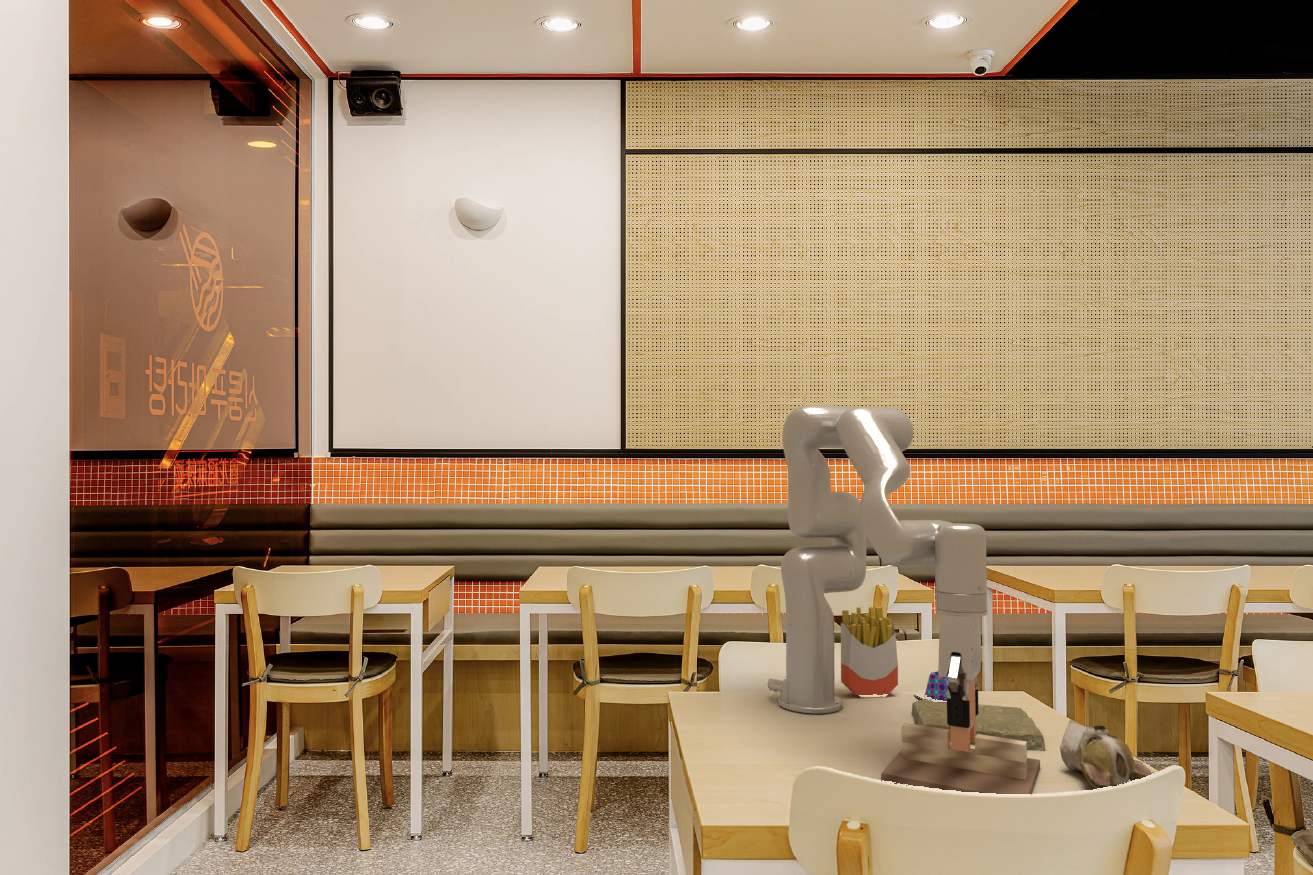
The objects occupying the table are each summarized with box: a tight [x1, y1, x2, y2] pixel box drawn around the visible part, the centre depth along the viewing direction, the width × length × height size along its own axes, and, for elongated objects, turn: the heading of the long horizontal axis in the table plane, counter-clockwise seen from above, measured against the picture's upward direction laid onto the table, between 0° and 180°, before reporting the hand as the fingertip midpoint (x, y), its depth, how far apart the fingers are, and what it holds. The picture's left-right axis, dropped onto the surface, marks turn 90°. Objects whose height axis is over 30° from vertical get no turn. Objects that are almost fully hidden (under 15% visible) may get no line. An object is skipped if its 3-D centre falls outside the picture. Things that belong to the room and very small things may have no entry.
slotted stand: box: [880, 722, 1041, 795], centre depth 126 cm, size 20×19×6 cm
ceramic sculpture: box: [1059, 719, 1154, 789], centre depth 124 cm, size 11×9×15 cm
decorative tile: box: [911, 699, 1046, 752], centre depth 148 cm, size 19×20×4 cm
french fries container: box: [840, 606, 899, 696], centre depth 172 cm, size 5×11×18 cm, turn 101°
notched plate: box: [950, 676, 976, 752], centre depth 126 cm, size 2×7×10 cm, turn 150°
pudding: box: [914, 671, 949, 701], centre depth 170 cm, size 12×12×5 cm
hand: (963, 719), depth 126 cm, fingers closed on notched plate, 7 cm apart
